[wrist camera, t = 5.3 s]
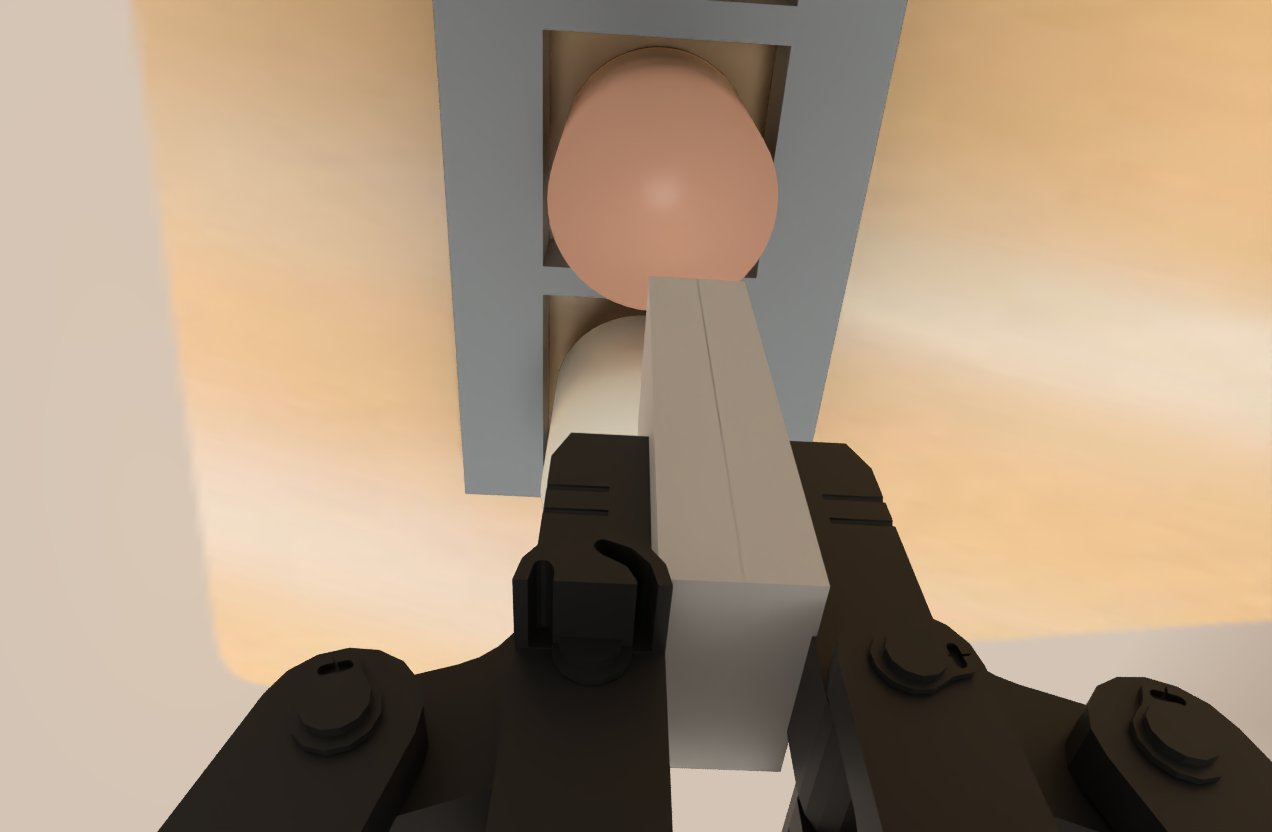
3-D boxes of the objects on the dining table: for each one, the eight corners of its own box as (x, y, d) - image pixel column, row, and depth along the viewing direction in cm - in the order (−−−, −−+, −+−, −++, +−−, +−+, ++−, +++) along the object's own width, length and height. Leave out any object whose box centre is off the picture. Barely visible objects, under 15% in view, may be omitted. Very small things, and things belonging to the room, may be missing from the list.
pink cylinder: (564, 41, 24) (547, 75, 19) (761, 53, 24) (796, 91, 19) (562, 232, 27) (547, 305, 22) (736, 242, 28) (760, 317, 23)
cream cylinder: (557, 310, 27) (540, 403, 22) (735, 320, 27) (760, 414, 22) (556, 457, 30) (540, 568, 25) (715, 464, 30) (732, 576, 25)
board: (425, -429, 19) (401, -468, 17) (959, -382, 20) (997, -416, 18) (475, 457, 33) (465, 493, 31) (787, 472, 34) (798, 508, 31)
